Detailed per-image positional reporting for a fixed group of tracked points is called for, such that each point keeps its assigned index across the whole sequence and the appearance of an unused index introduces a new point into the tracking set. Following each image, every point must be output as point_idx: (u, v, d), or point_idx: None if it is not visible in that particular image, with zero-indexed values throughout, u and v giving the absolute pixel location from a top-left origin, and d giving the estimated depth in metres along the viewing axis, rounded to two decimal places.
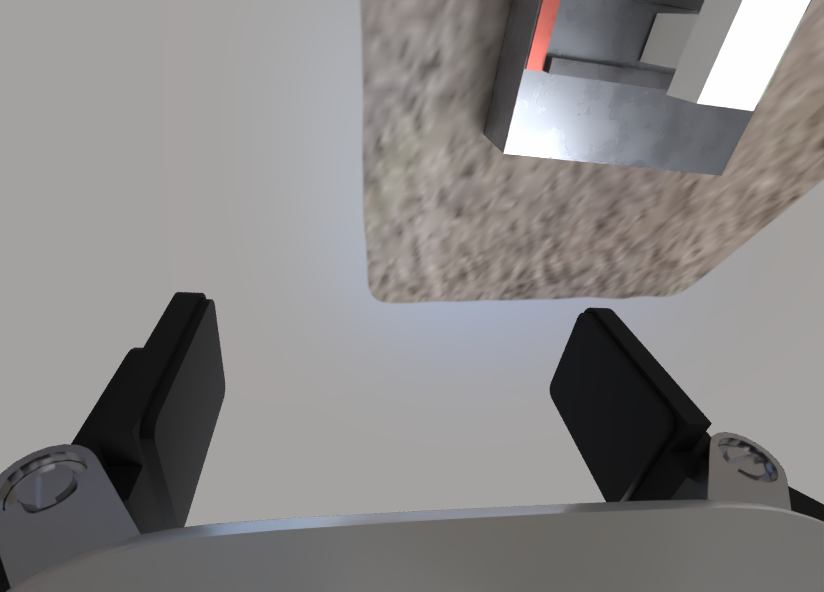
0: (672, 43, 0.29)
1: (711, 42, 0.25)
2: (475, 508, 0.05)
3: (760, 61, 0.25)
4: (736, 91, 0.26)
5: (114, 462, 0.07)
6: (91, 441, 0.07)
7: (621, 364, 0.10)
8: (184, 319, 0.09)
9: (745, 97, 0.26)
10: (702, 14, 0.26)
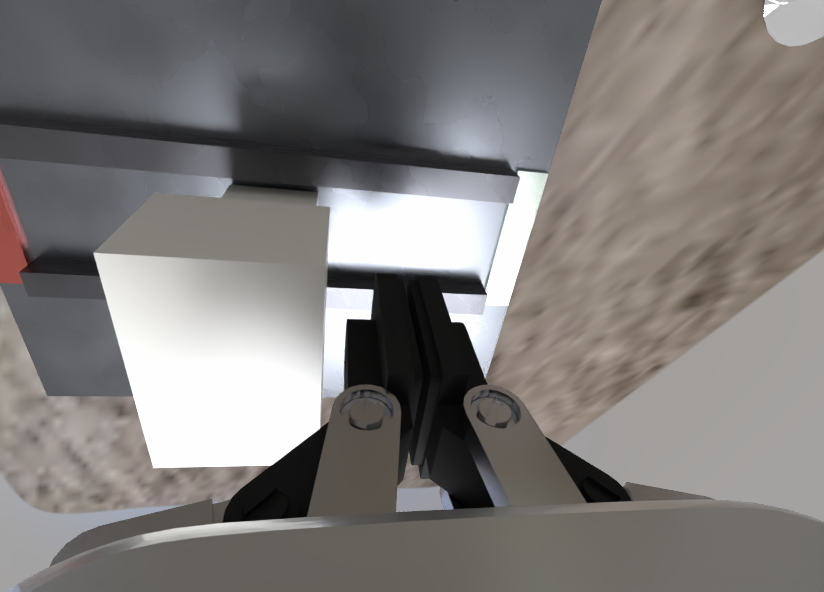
0: None
1: None
2: (475, 508, 0.05)
3: (268, 394, 0.10)
4: (245, 442, 0.11)
5: None
6: None
7: (419, 325, 0.10)
8: (396, 294, 0.10)
9: (278, 448, 0.11)
10: None
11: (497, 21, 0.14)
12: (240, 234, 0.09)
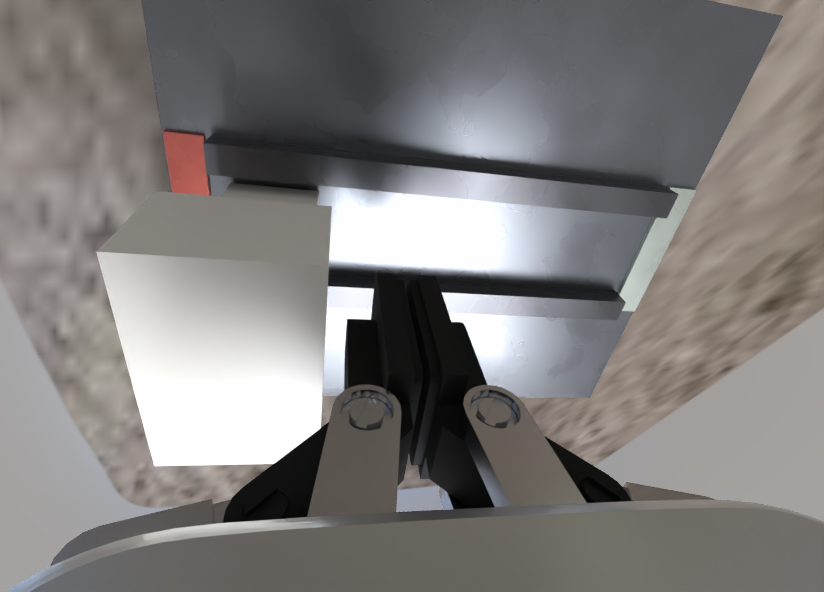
0: None
1: None
2: (475, 508, 0.05)
3: (269, 393, 0.10)
4: (246, 441, 0.11)
5: None
6: None
7: (419, 325, 0.10)
8: (396, 294, 0.10)
9: (279, 446, 0.11)
10: None
11: (679, 53, 0.15)
12: (242, 233, 0.09)
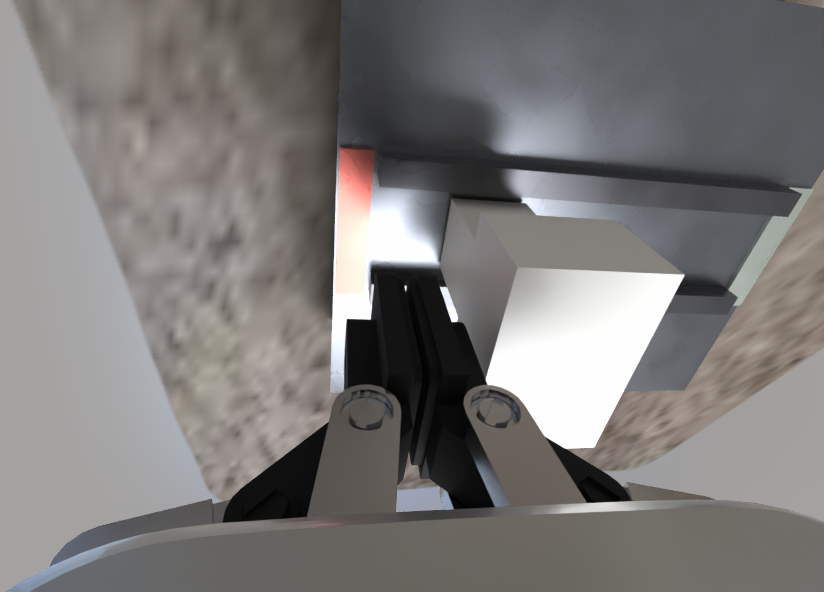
0: (460, 274, 0.15)
1: (478, 344, 0.12)
2: (475, 508, 0.05)
3: (586, 385, 0.12)
4: (547, 428, 0.12)
5: None
6: None
7: (419, 325, 0.10)
8: (396, 294, 0.10)
9: (570, 433, 0.13)
10: (472, 268, 0.12)
11: (814, 61, 0.16)
12: (590, 248, 0.11)
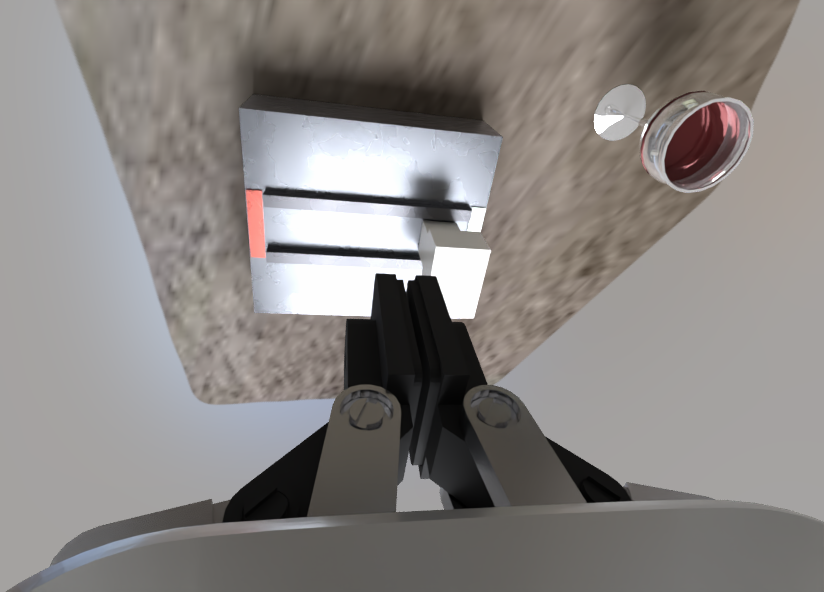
0: (425, 253, 0.36)
1: (427, 275, 0.33)
2: (475, 508, 0.05)
3: (465, 290, 0.33)
4: (453, 308, 0.34)
5: None
6: None
7: (419, 325, 0.10)
8: (396, 294, 0.10)
9: (463, 311, 0.34)
10: (426, 248, 0.33)
11: (460, 152, 0.35)
12: (463, 241, 0.32)
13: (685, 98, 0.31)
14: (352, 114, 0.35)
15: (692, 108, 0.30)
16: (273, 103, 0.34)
